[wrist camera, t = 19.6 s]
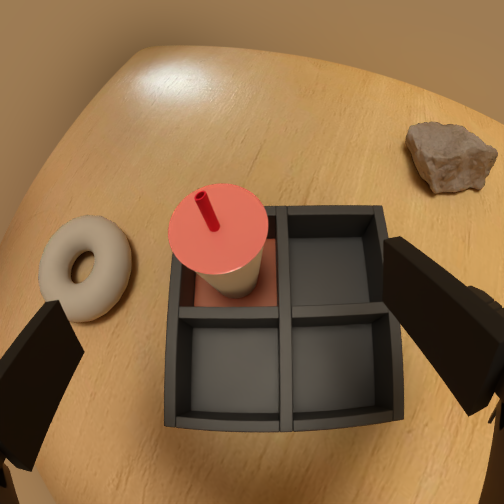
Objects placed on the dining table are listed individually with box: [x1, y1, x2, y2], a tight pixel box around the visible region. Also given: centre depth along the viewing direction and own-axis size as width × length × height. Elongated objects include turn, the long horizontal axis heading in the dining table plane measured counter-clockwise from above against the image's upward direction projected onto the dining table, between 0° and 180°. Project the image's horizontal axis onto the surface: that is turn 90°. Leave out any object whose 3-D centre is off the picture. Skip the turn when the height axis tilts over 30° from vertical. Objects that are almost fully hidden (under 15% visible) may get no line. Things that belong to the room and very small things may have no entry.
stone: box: [405, 122, 498, 194], centre depth 26 cm, size 10×8×6 cm
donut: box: [38, 215, 132, 322], centre depth 25 cm, size 10×4×10 cm
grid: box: [164, 205, 404, 432], centre depth 22 cm, size 15×15×5 cm
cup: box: [168, 184, 268, 299], centre depth 19 cm, size 5×5×12 cm
